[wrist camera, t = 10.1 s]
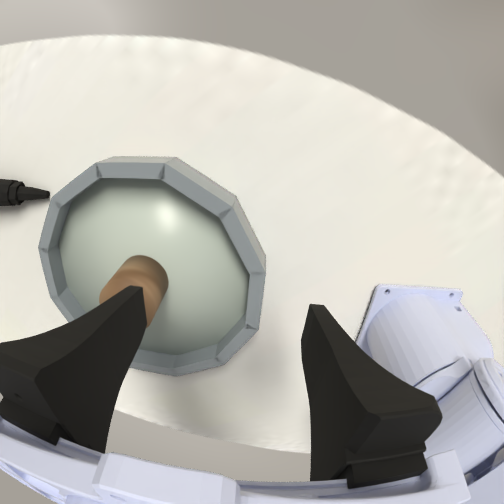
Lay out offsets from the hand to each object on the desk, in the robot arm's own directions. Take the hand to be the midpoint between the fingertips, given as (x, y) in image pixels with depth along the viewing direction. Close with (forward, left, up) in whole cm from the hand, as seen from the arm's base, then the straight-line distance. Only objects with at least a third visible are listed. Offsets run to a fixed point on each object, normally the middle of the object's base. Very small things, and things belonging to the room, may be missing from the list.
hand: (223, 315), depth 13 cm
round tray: (+7, +4, -9) cm, 12 cm away
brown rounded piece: (+7, +4, -9) cm, 12 cm away
